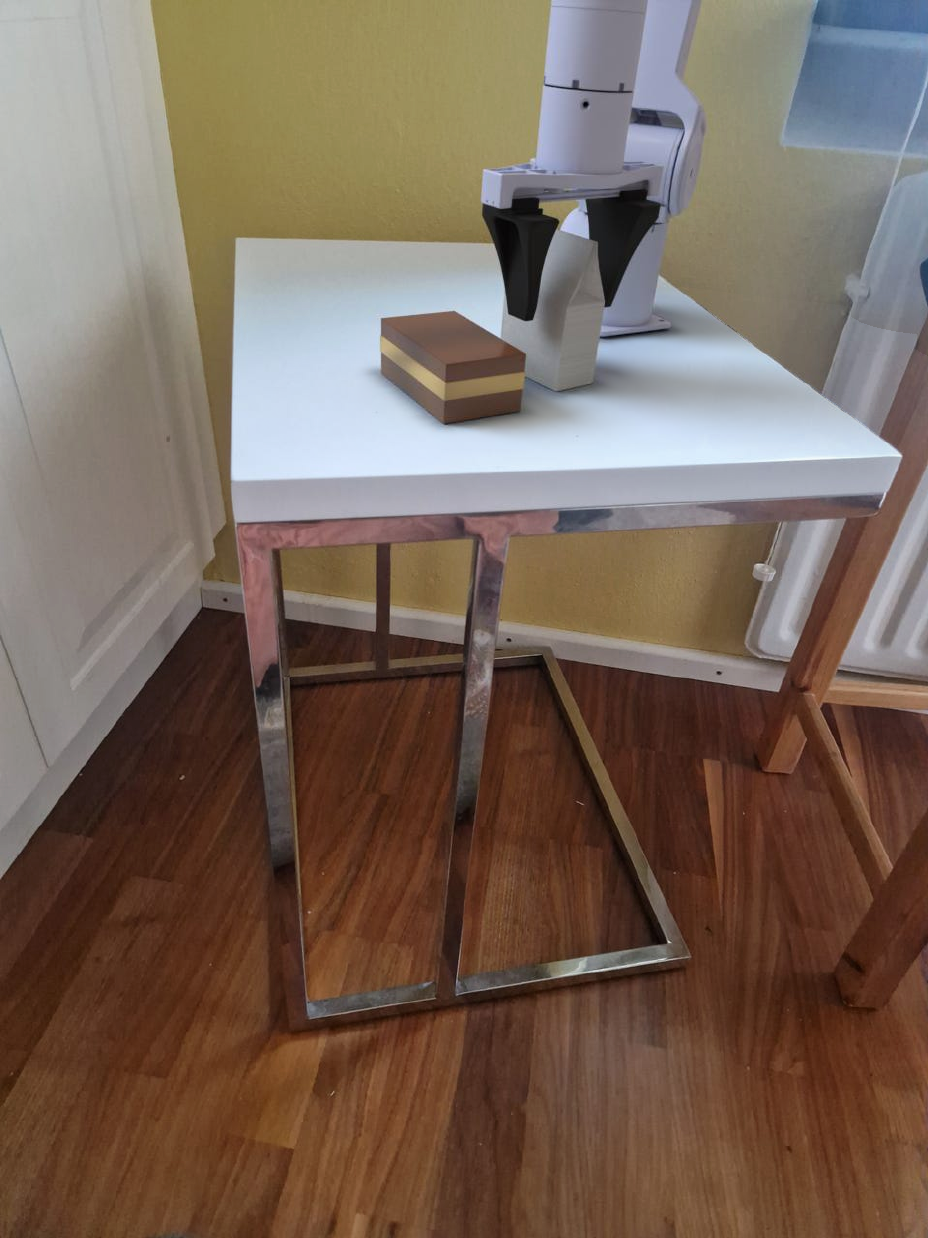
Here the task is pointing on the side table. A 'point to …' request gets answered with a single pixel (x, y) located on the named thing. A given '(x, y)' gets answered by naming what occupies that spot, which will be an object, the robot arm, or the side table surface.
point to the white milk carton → (562, 316)
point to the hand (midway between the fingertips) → (560, 310)
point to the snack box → (452, 366)
